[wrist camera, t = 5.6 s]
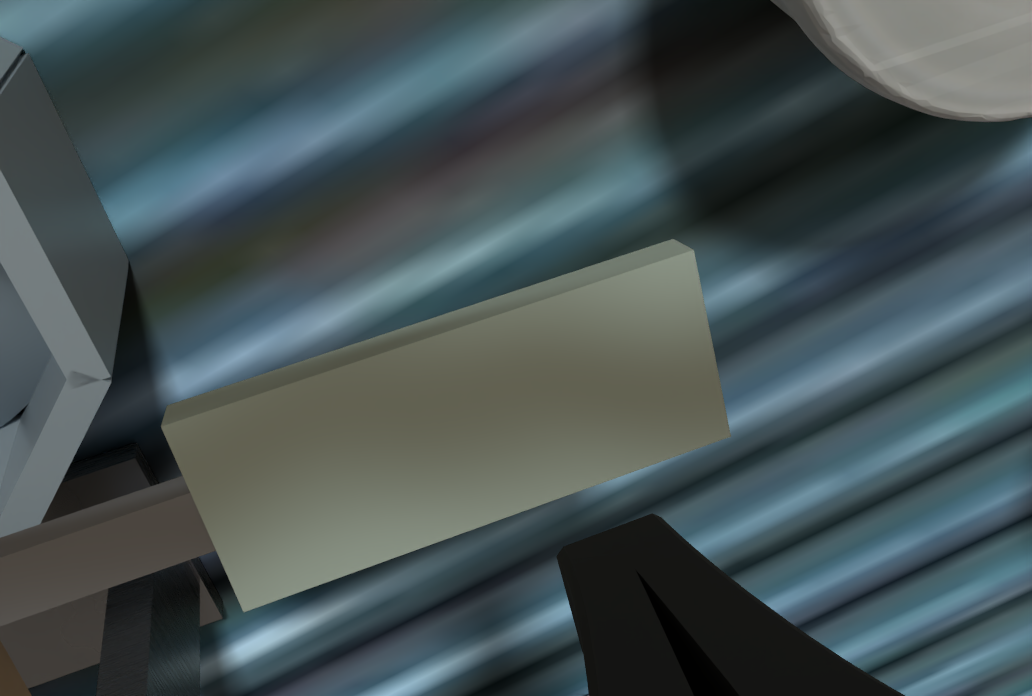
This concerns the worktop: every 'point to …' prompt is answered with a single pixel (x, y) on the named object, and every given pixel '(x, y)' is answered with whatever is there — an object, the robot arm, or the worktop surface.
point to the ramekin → (930, 52)
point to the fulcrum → (119, 605)
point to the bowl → (48, 296)
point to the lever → (402, 441)
